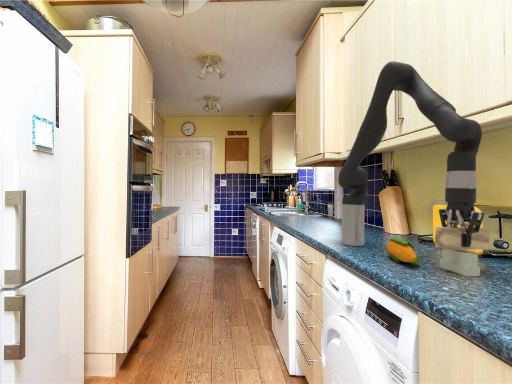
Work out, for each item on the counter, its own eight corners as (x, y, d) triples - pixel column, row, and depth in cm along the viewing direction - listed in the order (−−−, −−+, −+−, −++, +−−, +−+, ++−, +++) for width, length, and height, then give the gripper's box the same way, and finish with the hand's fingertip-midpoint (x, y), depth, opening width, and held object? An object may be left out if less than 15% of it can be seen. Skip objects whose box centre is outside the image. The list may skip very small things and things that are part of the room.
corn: (403, 234, 107) (428, 244, 87) (404, 255, 107) (429, 270, 87) (382, 235, 108) (402, 245, 88) (383, 256, 108) (403, 270, 88)
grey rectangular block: (439, 266, 92) (439, 247, 92) (451, 266, 92) (451, 247, 92) (467, 276, 82) (467, 254, 82) (479, 276, 82) (480, 254, 82)
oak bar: (435, 247, 88) (435, 227, 88) (476, 246, 90) (477, 227, 90) (445, 249, 84) (445, 228, 84) (488, 249, 86) (489, 228, 86)
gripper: (431, 186, 93) (429, 241, 93) (470, 186, 79) (468, 250, 79) (452, 187, 94) (450, 241, 95) (494, 187, 80) (492, 250, 80)
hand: (458, 245), depth 87 cm, fingers open, 4 cm apart
